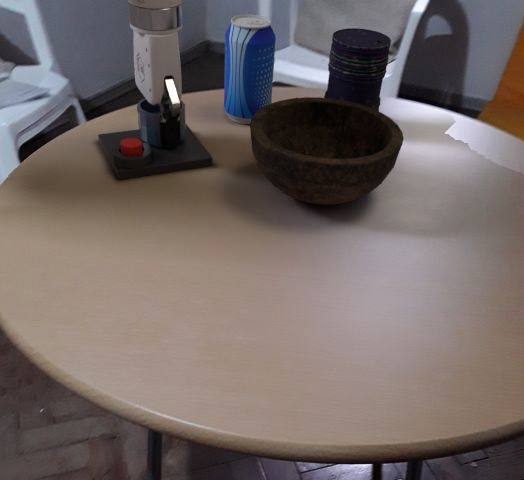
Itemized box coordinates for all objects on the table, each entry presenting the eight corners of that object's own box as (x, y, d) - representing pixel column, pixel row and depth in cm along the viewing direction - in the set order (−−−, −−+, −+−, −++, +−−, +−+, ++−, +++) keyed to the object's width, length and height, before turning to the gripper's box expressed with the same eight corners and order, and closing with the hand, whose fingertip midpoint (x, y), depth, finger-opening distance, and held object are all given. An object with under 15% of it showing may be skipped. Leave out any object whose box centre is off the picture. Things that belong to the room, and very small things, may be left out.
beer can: (254, 130, 110) (259, 32, 99) (214, 117, 113) (215, 20, 102) (278, 115, 115) (286, 20, 104) (240, 102, 118) (243, 9, 107)
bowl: (276, 146, 106) (280, 86, 99) (402, 176, 101) (417, 115, 94) (224, 208, 91) (225, 142, 84) (370, 245, 86) (384, 179, 79)
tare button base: (119, 180, 95) (116, 161, 93) (98, 142, 103) (96, 124, 101) (212, 165, 100) (212, 147, 98) (185, 130, 108) (185, 113, 106)
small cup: (147, 151, 99) (144, 117, 95) (134, 131, 104) (131, 98, 100) (192, 145, 101) (191, 111, 98) (177, 126, 106) (176, 93, 102)
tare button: (124, 158, 94) (123, 148, 93) (118, 148, 96) (117, 139, 95) (145, 155, 95) (144, 145, 94) (139, 146, 97) (138, 136, 96)
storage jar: (312, 129, 111) (322, 39, 101) (332, 110, 118) (344, 24, 108) (365, 143, 109) (381, 52, 98) (382, 122, 115) (399, 35, 105)
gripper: (114, -1, 94) (125, 115, 106) (147, 37, 83) (156, 161, 95) (162, -4, 97) (168, 109, 109) (201, 33, 85) (202, 154, 98)
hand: (162, 133), depth 102 cm, fingers closed on small cup, 7 cm apart
